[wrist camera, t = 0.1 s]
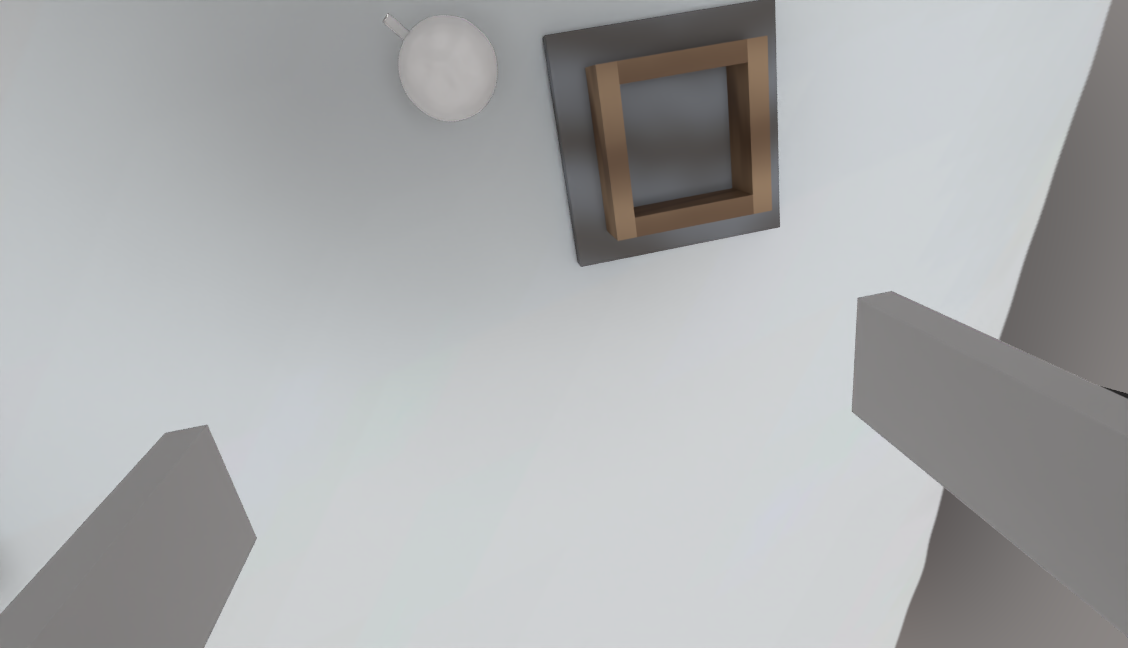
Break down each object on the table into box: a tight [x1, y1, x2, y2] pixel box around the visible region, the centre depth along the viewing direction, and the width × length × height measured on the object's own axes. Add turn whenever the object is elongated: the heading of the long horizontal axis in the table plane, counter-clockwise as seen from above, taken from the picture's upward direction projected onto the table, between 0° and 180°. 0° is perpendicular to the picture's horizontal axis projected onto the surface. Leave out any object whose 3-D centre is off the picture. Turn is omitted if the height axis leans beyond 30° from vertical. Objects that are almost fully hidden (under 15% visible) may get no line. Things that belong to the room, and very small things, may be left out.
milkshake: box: [383, 13, 498, 122], centre depth 30 cm, size 4×5×10 cm
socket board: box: [543, 0, 780, 267], centre depth 36 cm, size 14×14×4 cm
